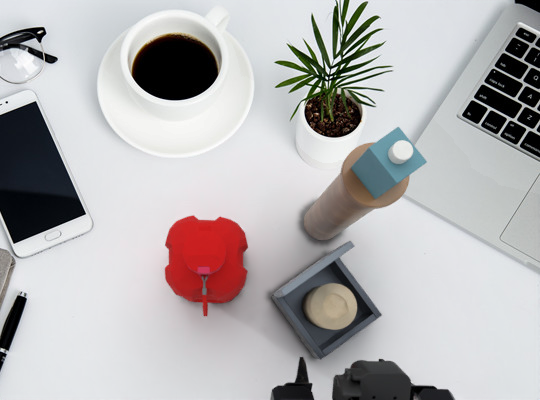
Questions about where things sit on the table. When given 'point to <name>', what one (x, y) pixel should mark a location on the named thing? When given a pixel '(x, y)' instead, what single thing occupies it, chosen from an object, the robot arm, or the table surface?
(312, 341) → the open box
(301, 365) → the robot arm
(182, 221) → the red rounded piece
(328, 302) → the candle
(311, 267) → the lid
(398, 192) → the tall beige cylinder
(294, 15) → the table surface
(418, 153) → the teal milk carton
